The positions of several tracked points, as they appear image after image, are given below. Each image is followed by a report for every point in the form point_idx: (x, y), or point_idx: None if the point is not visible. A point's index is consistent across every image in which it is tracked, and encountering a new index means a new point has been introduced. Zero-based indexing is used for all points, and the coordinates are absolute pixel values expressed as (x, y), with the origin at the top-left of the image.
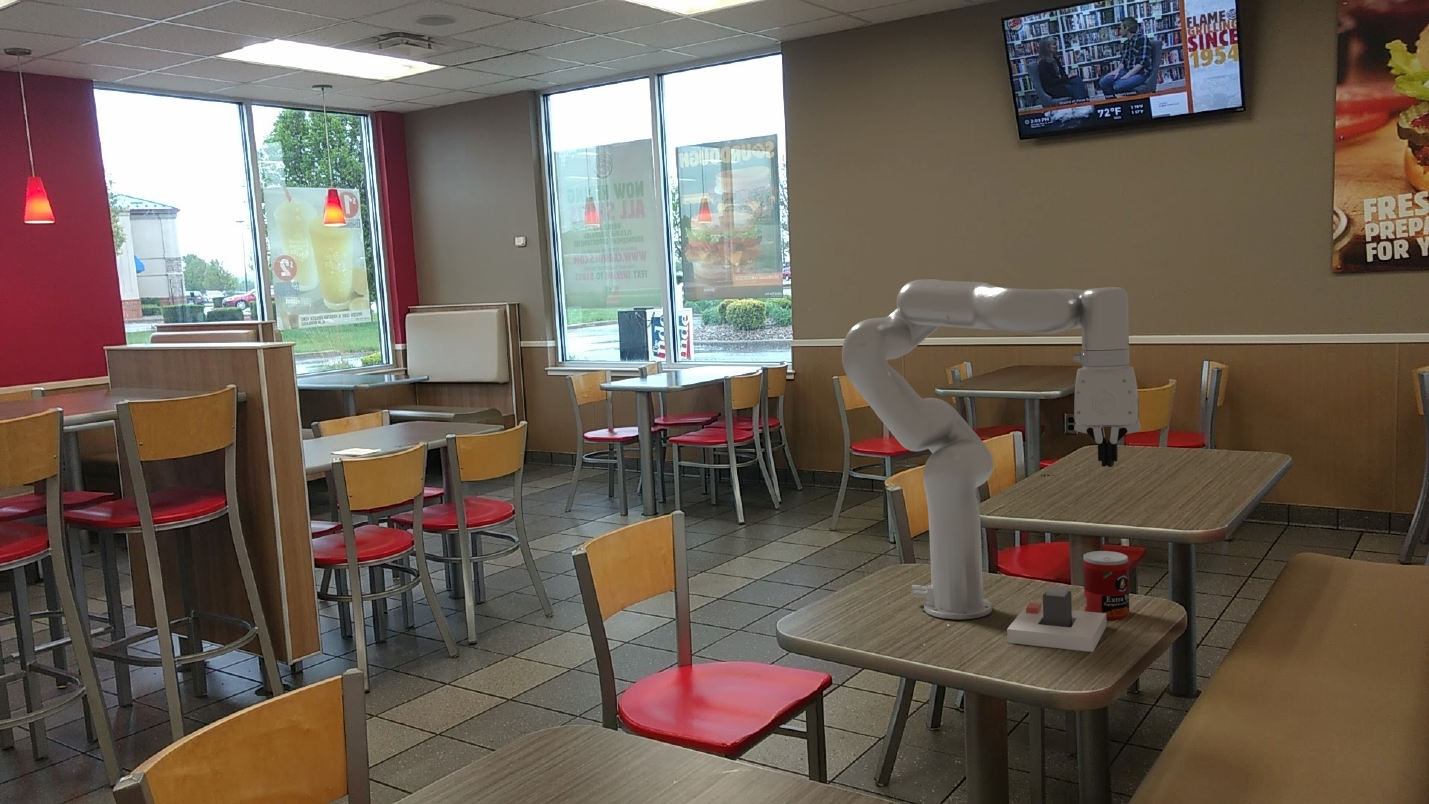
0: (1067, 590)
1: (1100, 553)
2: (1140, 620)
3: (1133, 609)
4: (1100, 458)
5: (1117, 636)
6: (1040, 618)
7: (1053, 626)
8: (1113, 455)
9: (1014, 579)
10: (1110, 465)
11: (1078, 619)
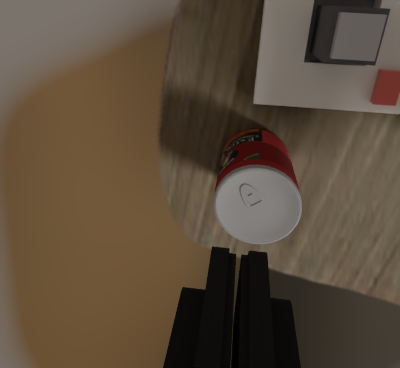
0: (332, 47)
1: (268, 233)
2: (204, 142)
3: None
4: (276, 304)
5: (233, 50)
6: None
7: None
8: (193, 311)
9: (396, 297)
10: (216, 247)
11: (301, 53)
